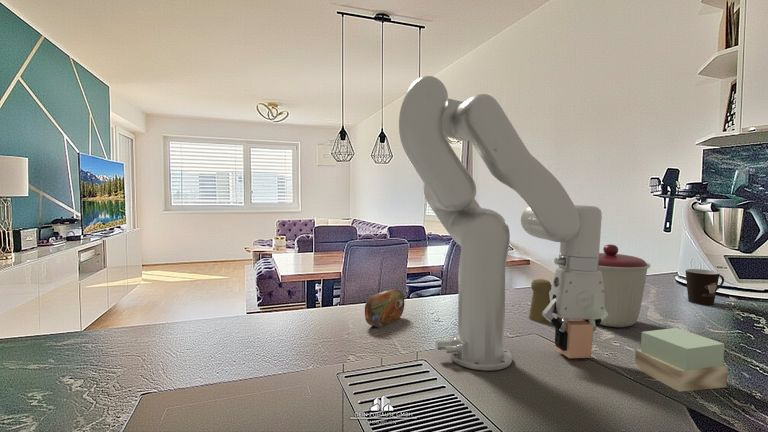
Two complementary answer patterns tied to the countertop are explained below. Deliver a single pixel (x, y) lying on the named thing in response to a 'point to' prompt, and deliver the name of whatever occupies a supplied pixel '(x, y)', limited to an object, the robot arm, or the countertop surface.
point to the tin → (384, 308)
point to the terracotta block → (578, 339)
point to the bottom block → (681, 374)
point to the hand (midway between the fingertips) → (573, 347)
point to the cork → (539, 299)
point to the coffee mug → (702, 286)
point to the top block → (682, 348)
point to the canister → (622, 286)
